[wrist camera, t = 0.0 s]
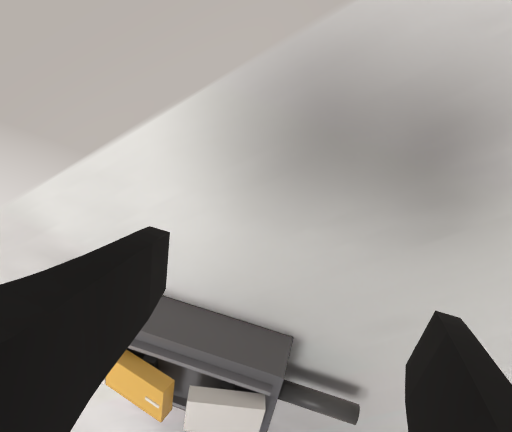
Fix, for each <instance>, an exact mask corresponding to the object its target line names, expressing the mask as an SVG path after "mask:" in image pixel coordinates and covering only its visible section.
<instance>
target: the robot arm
mask: <svg viewBox="0 0 512 432" xmlns="http://www.w3.org/2000/svg"><path fill="white" fill-rule="evenodd" d="M169 237H170V232H167V231H164V230H160V229H157V228H153V227H150V226H149V227H147V228H144V229H142V230H139V231H137V232H135V233H132V234H130V235H128V236H126V237H124V238H121V239H119V240H117V241H115V242H112V243H110V244H108V245H106V246H103V247H101V248H99V249H96V250H94V251H92V252H90V253H87V254H85V255H83V256H80V257H78V258H75V259H72V260H70V261H67V262H65V263H62V264H60V265H57V266H54V267H52V268H49V269H47V270H44V271H41V272H39V273H36V274H33V275H30V276H27V277H24V278H21V279H17V280H14V281H11V282H8V283H4V284H1V285H0V432H70V431H71V429H72V428H73V426H74V424H75V423H76V421H77V419H78V418H79V416H80V415H81V413H82V411H83V410H84V408H85V406H86V405H87V403H88V401H89V400H90V398H91V397H92V396H93V394H94V393H95V391H96V390H97V388H98V387H99V385H100V384H101V383H102V381H103V380H104V379H105V377H106V376H107V375H108V373H109V372H110V371H111V369H112V368H113V367H114V365H115V364H116V363H117V361H118V360H119V359H120V357H121V356H122V355H123V353H124V352H125V351H126V349H127V348H128V347H129V345H130V344H131V343H132V341H133V340H134V339H135V337H136V336H137V335H138V333H139V332H140V330H141V329H142V328H143V326H144V325H145V324H146V322H147V321H148V319H149V318H150V316H151V314H152V313H153V311H154V309H155V308H156V306H157V304H158V302H159V300H160V298H161V297H162V295H163V293H164V291H165V289H166V277H167V264H168V250H169ZM405 405H406V414H407V423H408V432H512V384H511V383H510V382H509V380H508V379H507V378H506V377H505V375H504V374H503V373H502V371H501V370H500V369H499V367H498V366H497V365H496V363H495V362H494V361H493V359H492V358H491V357H490V356H489V354H488V353H487V352H486V350H485V349H484V348H483V346H482V345H481V344H480V342H479V341H478V340H477V338H476V337H475V336H474V334H473V333H472V332H471V331H470V329H469V328H468V327H467V325H466V324H465V323H464V322H463V321H462V319H461V318H458V317H455V316H452V315H448V314H445V313H441V312H438V311H435V312H434V314H433V316H432V318H431V320H430V322H429V323H428V325H427V327H426V329H425V331H424V333H423V334H422V336H421V338H420V340H419V342H418V344H417V345H416V347H415V349H414V351H413V353H412V355H411V356H410V358H409V360H408V362H407V364H406V377H405Z"/></svg>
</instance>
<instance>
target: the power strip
mask: <svg viewBox="0 0 512 432" xmlns="http://www.w3.org/2000/svg"><path fill="white" fill-rule="evenodd" d="M292 341H293V337H290V336H287V335H284V334H281V333H278V332H275V331H271V330H268V329H265V328H262V327H259V326H256V325H252V324H249V323H246V322H243V321H240V320H237V319H234V318H230V317H227V316H224V315H221V314H218V313H215V312H211V311H208V310H205V309H202V308H199V307H196V306H193V305H189V304H186V303H183V302H180V301H177V300H174V299H170V298H167V297H164V296H162V297H161V298H160V300H159V302H158V304H157V306H156V308H155V309H154V311H153V313H152V314H151V316H150V318H149V319H148V321H147V322H146V324H145V325H144V326H143V328H142V329H141V330H140V332H139V333H138V335H137V336H136V337H135V339H134V340H133V341H132V343H131V344H130V345H129V347H128V348H127V350H128V351H130V352H131V353H133V354H134V355H136V356H138V357H139V358H141V359H142V360H144V361H145V362H147V363H149V364H150V365H152V366H153V367H155V368H156V369H158V370H160V371H161V372H163V373H164V374H166V375H167V376H169V377H171V378H172V379H174V380H175V383H174V393H173V403H172V406H174V407H177V408H179V409H182V410H185V411H186V405H187V398H188V393H189V387H190V385H191V386H200V387H208V388H217V389H226V390H235V391H244V392H252V393H261V394H265V409H266V410H265V413H264V417H263V420H262V423H261V427H260V430H259V432H267V431H268V427H269V424H270V421H271V418H272V415H273V412H274V409H275V405H276V402H277V399H280V400H283V401H286V402H289V403H292V404H295V405H297V406H300V407H303V408H306V409H309V410H312V411H315V412H318V413H321V414H324V415H327V416H330V417H333V418H336V419H339V420H342V421H344V422H347V423H350V424H353V425H356V423H357V421H358V417H359V411H360V406H359V404H356V403H353V402H350V401H347V400H344V399H341V398H338V397H335V396H332V395H329V394H326V393H323V392H320V391H317V390H314V389H311V388H308V387H305V386H302V385H299V384H296V383H293V382H290V381H287V380H284V376H285V372H286V368H287V363H288V359H289V354H290V350H291V345H292Z"/></svg>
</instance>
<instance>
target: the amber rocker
mask: <svg viewBox="0 0 512 432" xmlns="http://www.w3.org/2000/svg"><path fill="white" fill-rule="evenodd" d="M174 383H175V380H174V379H172V378H171V377H169V376H167V375H166V374H164V373H163V372H161V371H160V370H158V369H156V368H155V367H153V366H152V365H150V364H149V363H147V362H145V361H144V360H142V359H141V358H139V357H138V356H136V355H134V354H133V353H131V352H130V351H128V350H127V349H126V351H125V352H124V353H123V355H122V356H121V357H120V359H119V360H118V361H117V363H116V364H115V365H114V367H113V368H112V369H111V371H110V372H109V373H108V375H107V376H106V385H107V386H109V387H110V388H112V389H113V390H115V391H116V392H117V393H119V394H120V395H122V396H123V397H125V398H126V399H128V400H129V401H130V402H132V403H133V404H135V405H136V406H138V407H139V408H141V409H142V410H143V411H145V412H146V413H148V414H149V415H151V416H152V417H154V418H155V419H156V420H158V421H159V422H162V421H163V420H164V418H165V417H166V416H167V415H168V414H169V412H170V411H171V410H172V403H173V393H174Z"/></svg>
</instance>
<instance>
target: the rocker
mask: <svg viewBox="0 0 512 432" xmlns="http://www.w3.org/2000/svg"><path fill="white" fill-rule="evenodd" d="M265 410H266V409H265V394H261V393H252V392H244V391H235V390H226V389H217V388H208V387H200V386H191V385H190V387H189V393H188V398H187V405H186V413H185V420H184V428H183V431H191V432H259V430H260V427H261V423H262V420H263V417H264V413H265Z"/></svg>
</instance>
